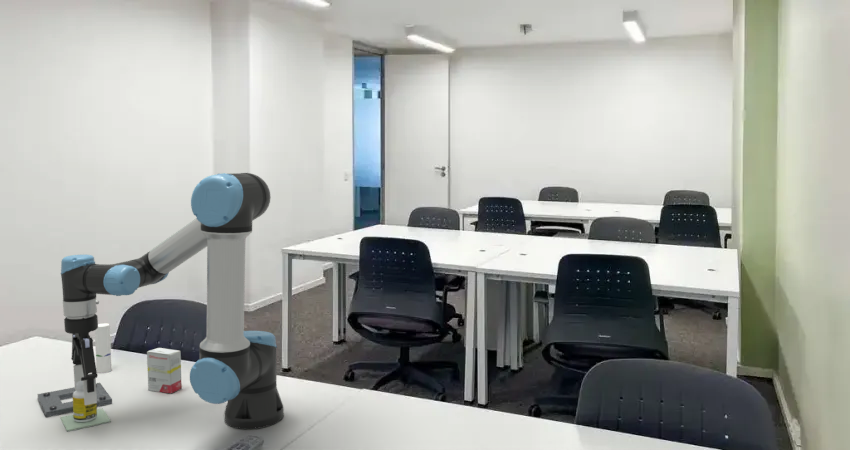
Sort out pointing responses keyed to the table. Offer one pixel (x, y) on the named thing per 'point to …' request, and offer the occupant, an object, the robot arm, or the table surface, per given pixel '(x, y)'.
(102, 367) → the tube
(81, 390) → the supplement bottle
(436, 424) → the table surface
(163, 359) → the ink box
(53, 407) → the grey mounting plate
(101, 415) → the mat
